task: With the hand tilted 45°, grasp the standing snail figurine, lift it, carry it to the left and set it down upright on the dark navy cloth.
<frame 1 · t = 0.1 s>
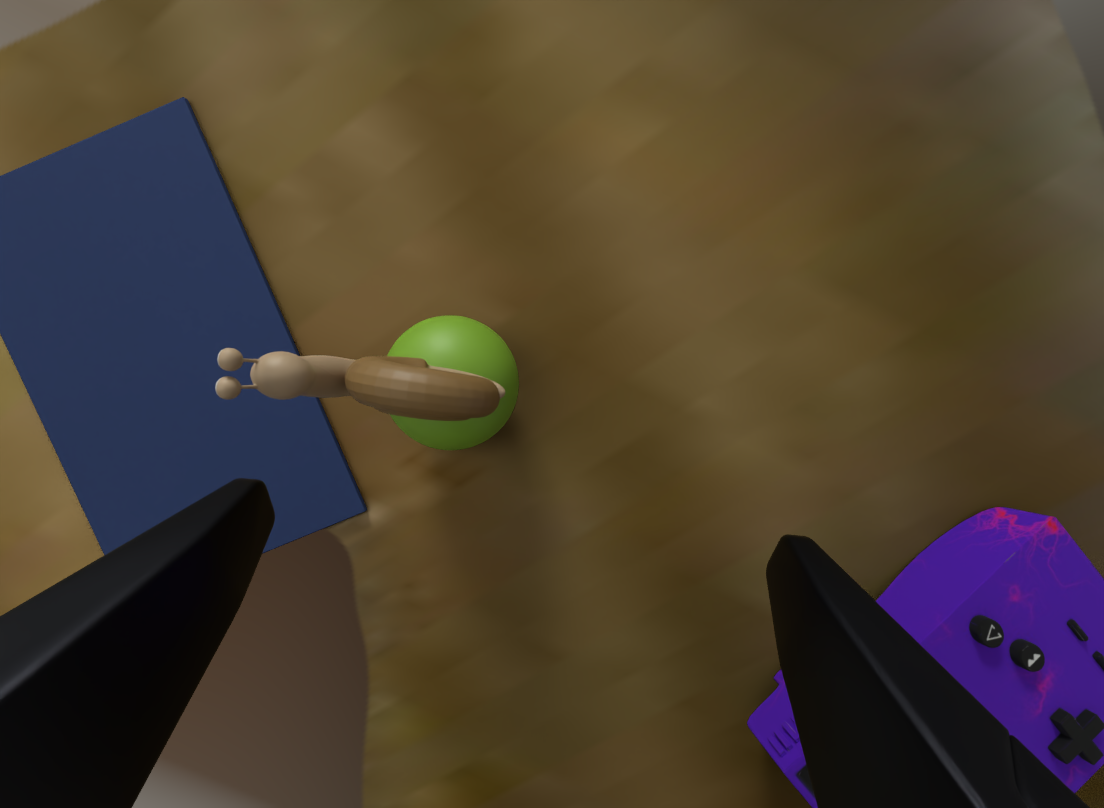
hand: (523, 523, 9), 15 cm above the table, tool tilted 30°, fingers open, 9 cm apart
snail figurine: (453, 381, 24), on the table
navy cloth: (160, 359, 24), on the table
handheld gaming console: (913, 667, 25), on the table
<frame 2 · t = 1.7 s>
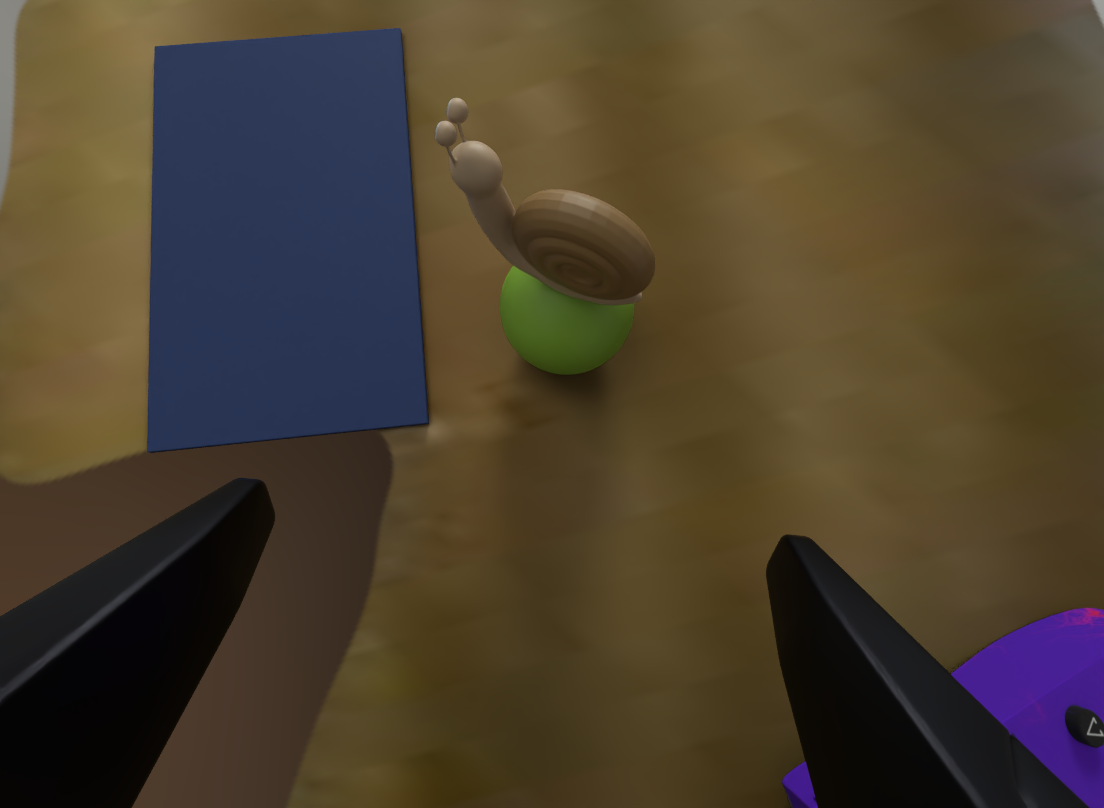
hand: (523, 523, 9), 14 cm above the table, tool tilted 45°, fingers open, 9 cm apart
snail figurine: (553, 325, 24), on the table
navy cloth: (286, 227, 24), on the table
handheld gaming console: (974, 781, 21), on the table
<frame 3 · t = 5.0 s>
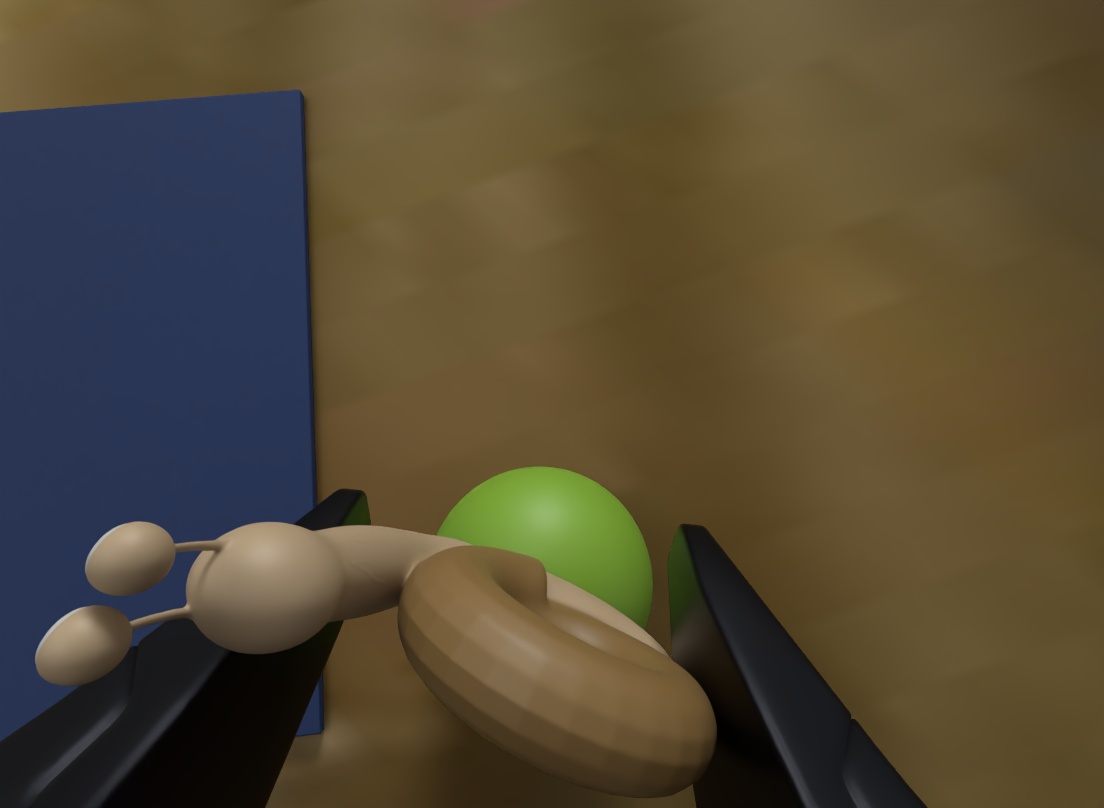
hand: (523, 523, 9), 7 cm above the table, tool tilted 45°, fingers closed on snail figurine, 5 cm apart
snail figurine: (524, 555, 15), on the table, touching gripper
navy cloth: (114, 399, 16), on the table
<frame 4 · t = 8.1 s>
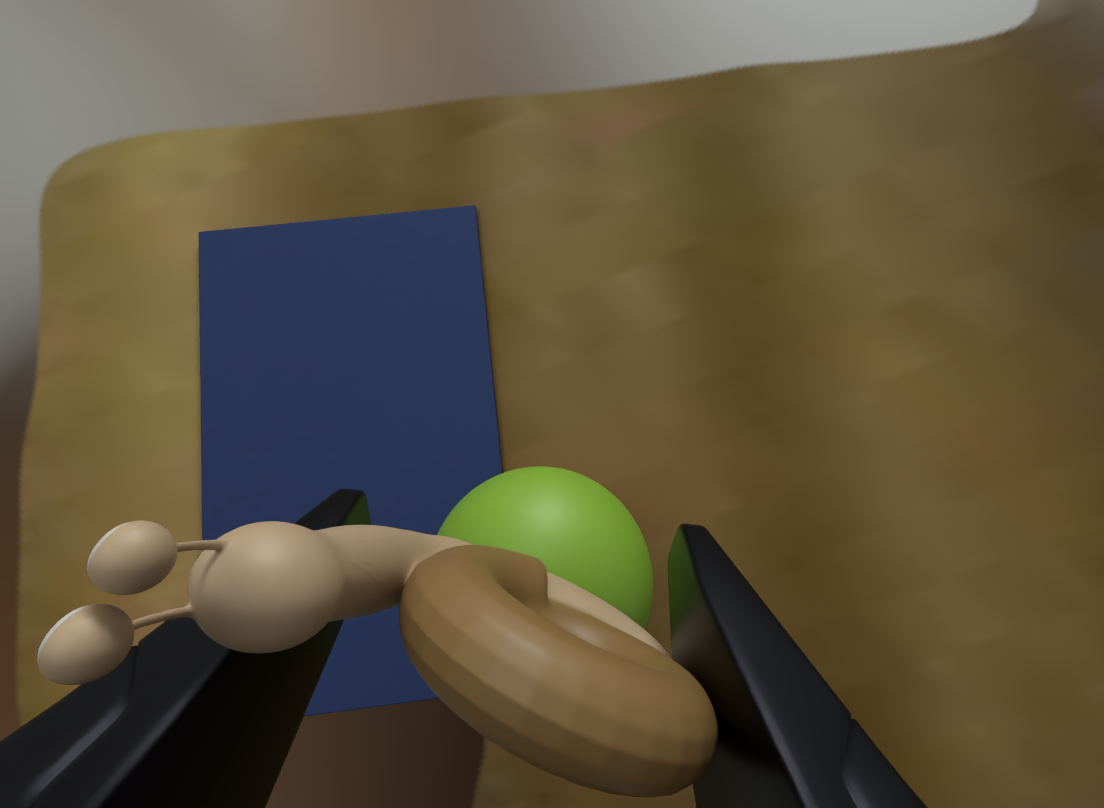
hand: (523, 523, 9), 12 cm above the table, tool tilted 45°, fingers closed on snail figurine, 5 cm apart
snail figurine: (524, 555, 15), point 5 cm above the table, touching gripper
navy cloth: (353, 446, 21), on the table
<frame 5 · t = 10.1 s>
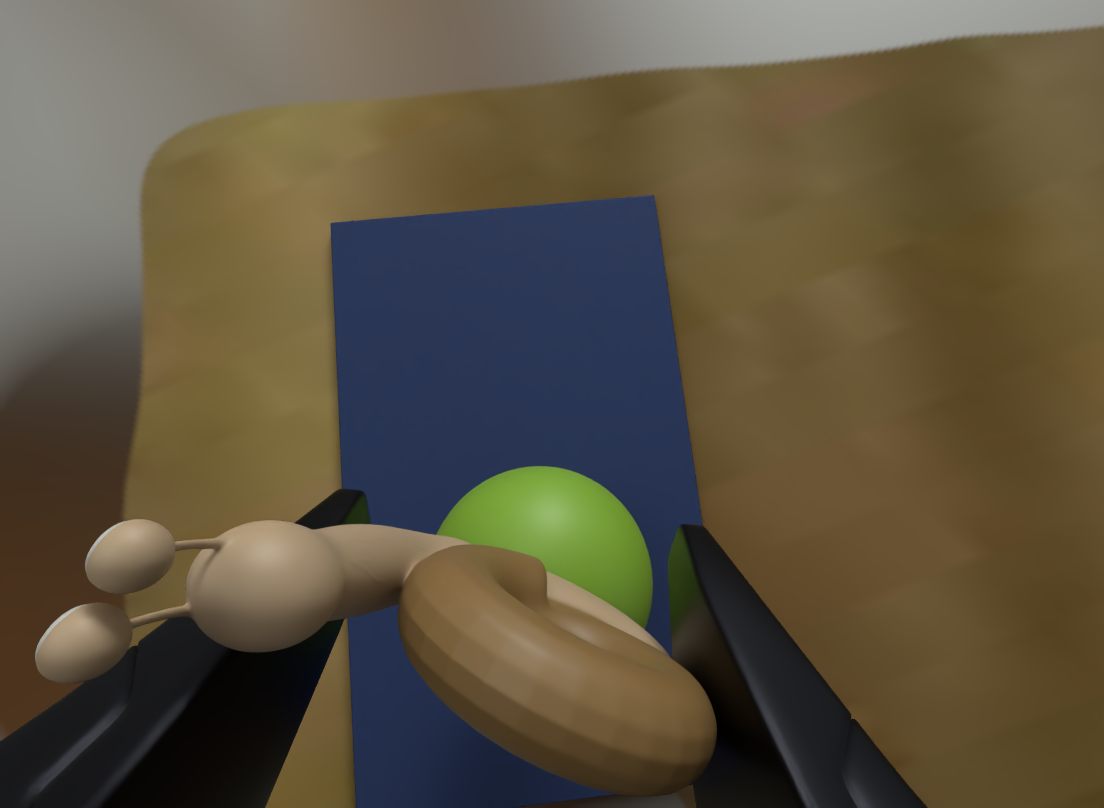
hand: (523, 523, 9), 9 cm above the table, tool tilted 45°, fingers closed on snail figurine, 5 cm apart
snail figurine: (524, 555, 15), point 2 cm above the table, touching gripper
navy cloth: (520, 480, 18), on the table
when the fingers open (7 cm above the table, at t = 11.2 s): snail figurine stays where it is, resting on navy cloth.
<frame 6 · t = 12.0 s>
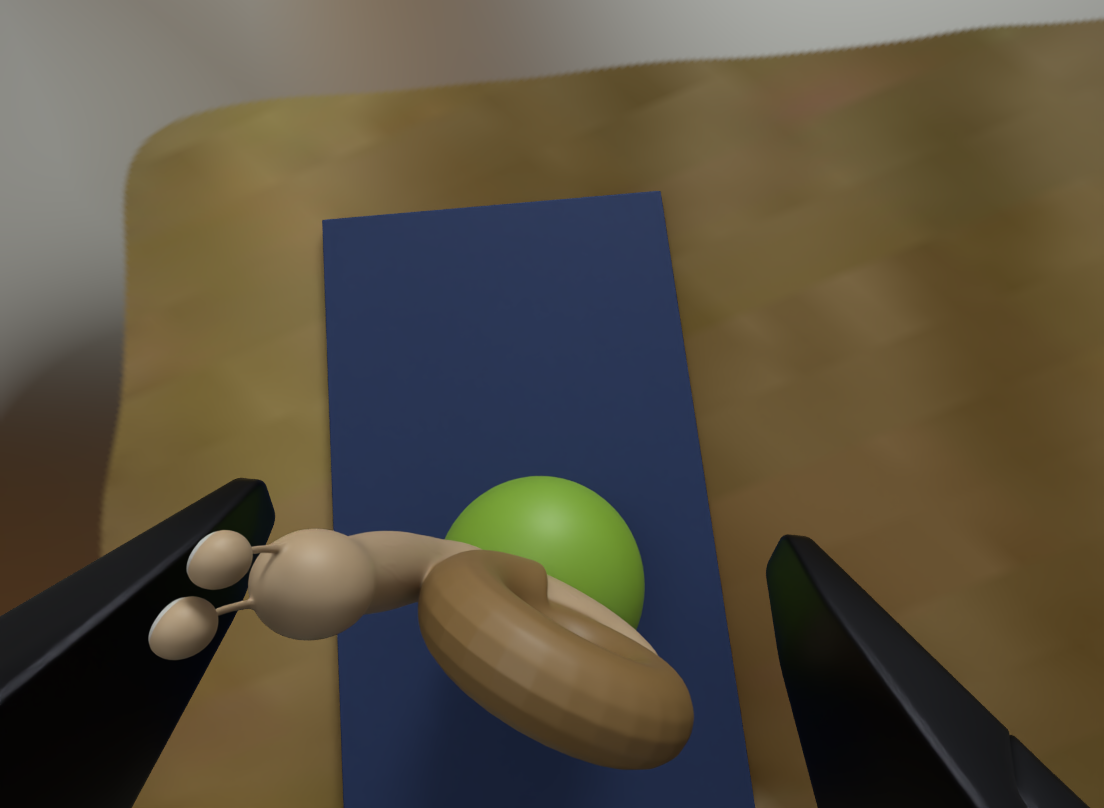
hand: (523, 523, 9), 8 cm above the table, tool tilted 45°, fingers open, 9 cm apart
snail figurine: (525, 558, 16), resting on navy cloth
navy cloth: (520, 489, 17), on the table
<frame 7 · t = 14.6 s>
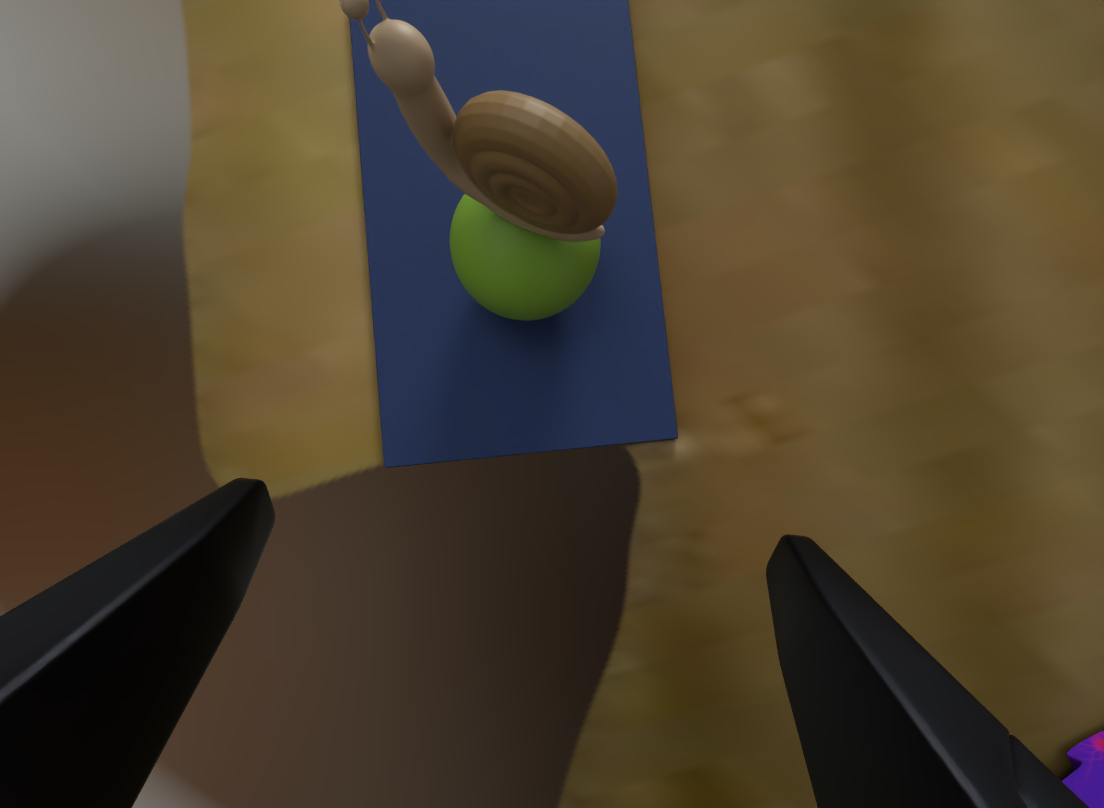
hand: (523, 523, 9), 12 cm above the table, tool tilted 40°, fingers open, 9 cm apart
snail figurine: (514, 266, 22), resting on navy cloth
navy cloth: (511, 217, 22), on the table
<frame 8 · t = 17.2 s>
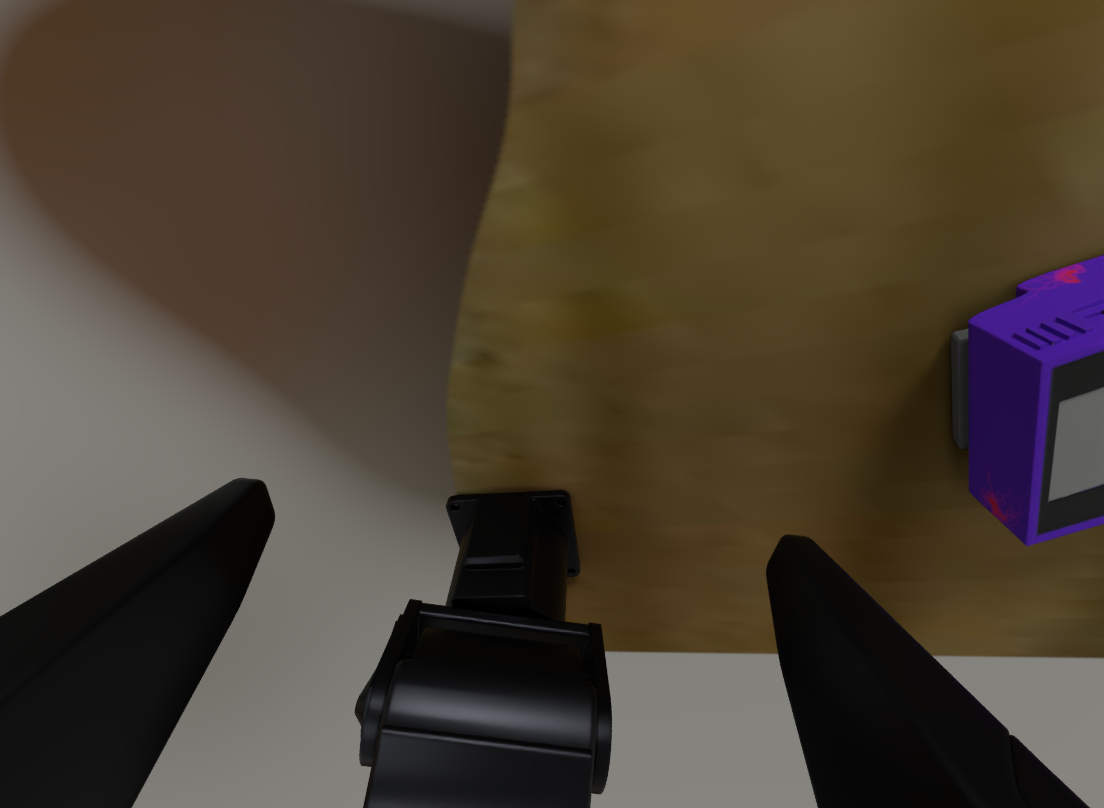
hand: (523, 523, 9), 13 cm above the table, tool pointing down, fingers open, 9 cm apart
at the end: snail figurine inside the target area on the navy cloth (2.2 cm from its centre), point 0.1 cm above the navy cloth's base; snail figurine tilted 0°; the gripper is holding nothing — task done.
